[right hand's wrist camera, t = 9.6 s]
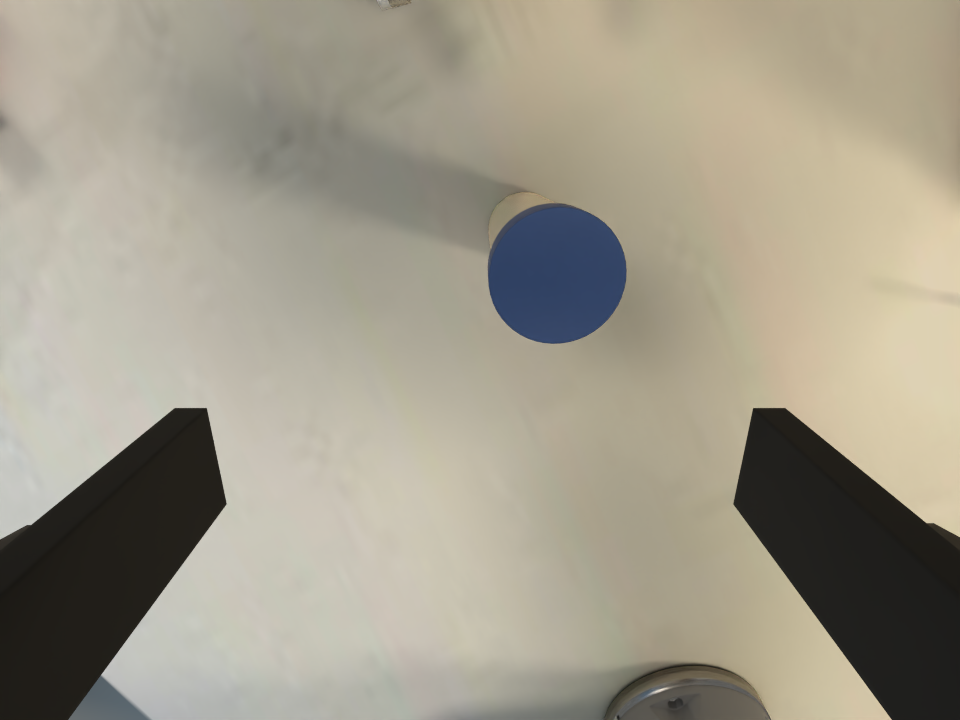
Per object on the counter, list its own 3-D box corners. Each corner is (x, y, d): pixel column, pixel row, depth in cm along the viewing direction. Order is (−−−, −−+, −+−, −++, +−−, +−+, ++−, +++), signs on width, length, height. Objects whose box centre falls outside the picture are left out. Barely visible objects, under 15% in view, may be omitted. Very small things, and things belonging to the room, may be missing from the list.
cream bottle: (534, 278, 36) (571, 356, 21) (474, 241, 35) (470, 296, 20) (574, 217, 34) (643, 255, 20) (513, 177, 33) (538, 186, 19)
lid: (566, 349, 23) (574, 367, 21) (464, 289, 22) (463, 301, 20) (638, 246, 21) (654, 255, 19) (532, 177, 20) (537, 178, 18)
